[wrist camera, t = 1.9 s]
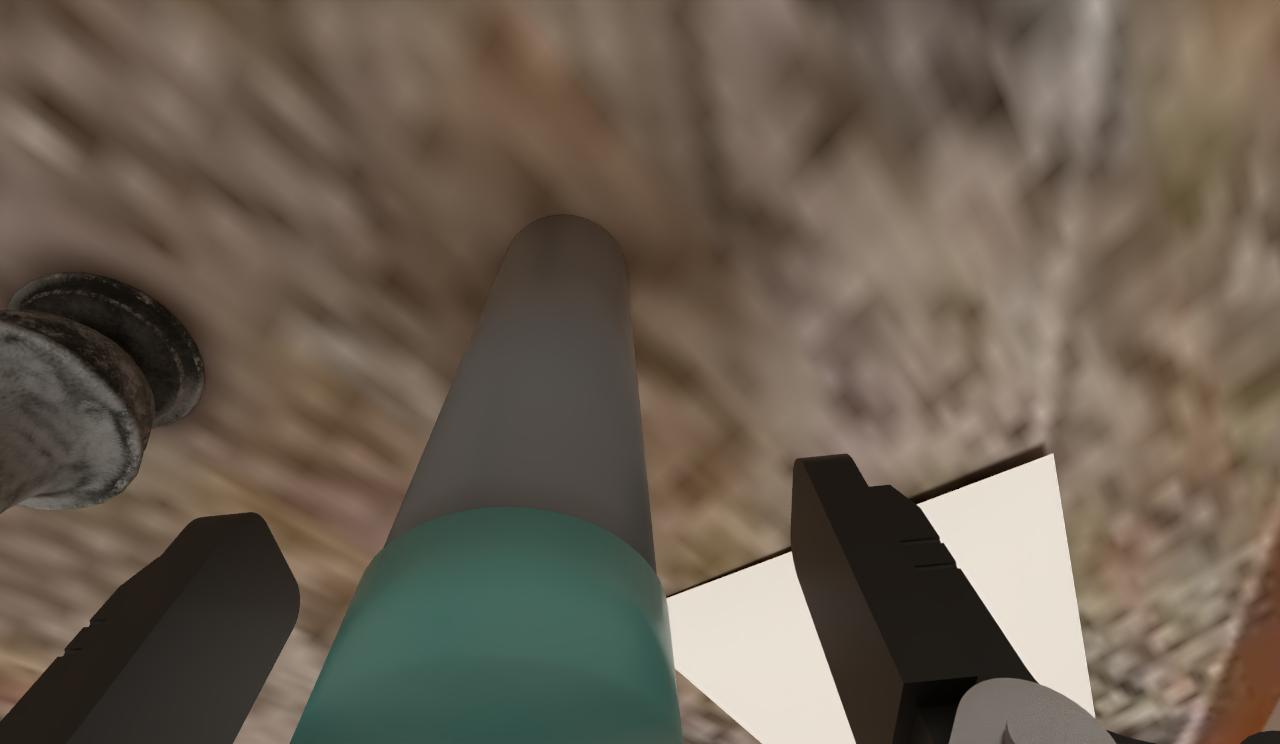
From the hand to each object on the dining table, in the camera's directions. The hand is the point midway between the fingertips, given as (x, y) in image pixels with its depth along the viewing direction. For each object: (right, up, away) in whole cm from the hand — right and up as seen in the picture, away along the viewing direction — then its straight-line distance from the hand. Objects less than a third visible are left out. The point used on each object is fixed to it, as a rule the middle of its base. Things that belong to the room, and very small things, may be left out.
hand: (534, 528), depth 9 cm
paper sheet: (+8, -14, +21) cm, 26 cm away
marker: (-1, +5, +9) cm, 10 cm away
